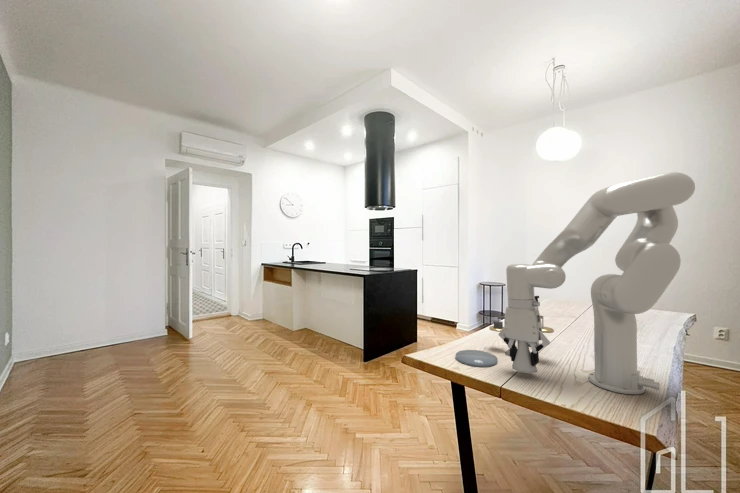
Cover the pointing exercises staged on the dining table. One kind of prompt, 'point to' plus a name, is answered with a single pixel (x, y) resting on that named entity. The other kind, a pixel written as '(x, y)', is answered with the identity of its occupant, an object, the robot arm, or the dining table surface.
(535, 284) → the robot arm
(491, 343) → the dining table surface
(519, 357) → the flask
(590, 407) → the dining table surface
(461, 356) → the slate dish
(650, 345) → the dining table surface
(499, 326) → the tipped balance
